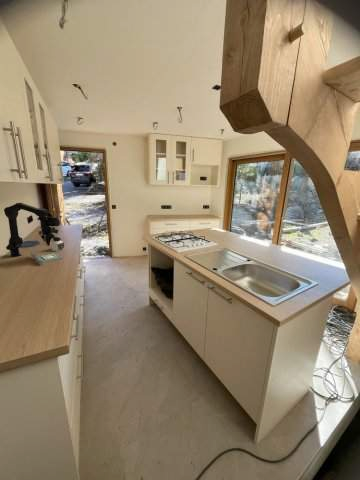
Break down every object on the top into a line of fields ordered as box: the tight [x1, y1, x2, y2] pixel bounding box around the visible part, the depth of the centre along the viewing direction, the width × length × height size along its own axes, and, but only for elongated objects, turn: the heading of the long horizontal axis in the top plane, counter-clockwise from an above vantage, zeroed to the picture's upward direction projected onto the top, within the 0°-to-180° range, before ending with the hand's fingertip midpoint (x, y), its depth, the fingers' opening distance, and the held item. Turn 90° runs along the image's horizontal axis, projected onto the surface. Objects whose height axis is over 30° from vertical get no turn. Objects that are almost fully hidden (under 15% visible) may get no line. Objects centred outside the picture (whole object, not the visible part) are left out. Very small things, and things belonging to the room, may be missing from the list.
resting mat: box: [37, 252, 63, 264], centre depth 166 cm, size 16×14×1 cm
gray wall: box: [30, 251, 44, 266], centre depth 158 cm, size 24×2×4 cm, turn 48°
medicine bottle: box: [50, 235, 65, 252], centre depth 184 cm, size 7×7×12 cm
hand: (47, 244), depth 163 cm, fingers closed on ball, 5 cm apart
